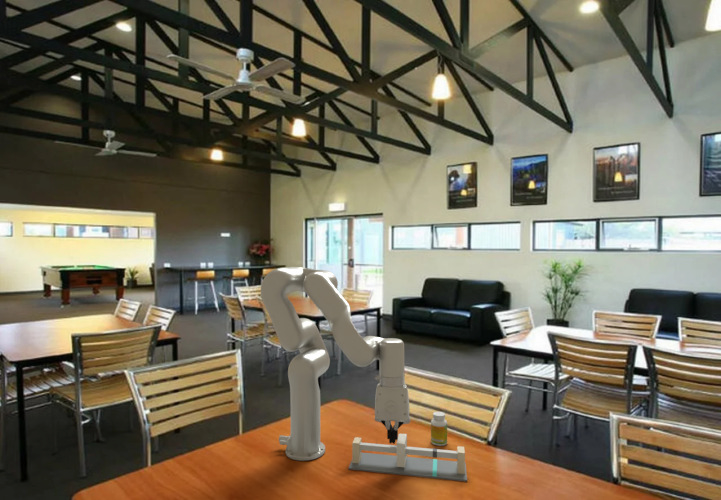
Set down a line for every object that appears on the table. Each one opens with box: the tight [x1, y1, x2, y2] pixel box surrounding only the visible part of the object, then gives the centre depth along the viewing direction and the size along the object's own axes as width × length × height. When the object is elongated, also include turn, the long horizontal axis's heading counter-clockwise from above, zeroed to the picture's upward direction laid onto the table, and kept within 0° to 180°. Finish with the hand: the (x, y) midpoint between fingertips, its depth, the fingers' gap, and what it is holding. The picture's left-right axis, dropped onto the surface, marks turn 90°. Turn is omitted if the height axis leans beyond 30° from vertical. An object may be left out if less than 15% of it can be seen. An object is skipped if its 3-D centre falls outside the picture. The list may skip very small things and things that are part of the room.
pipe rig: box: [348, 436, 468, 482], centre depth 125 cm, size 34×10×6 cm, turn 79°
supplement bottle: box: [430, 411, 448, 447], centre depth 141 cm, size 5×5×10 cm
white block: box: [396, 433, 408, 467], centre depth 126 cm, size 2×7×7 cm, turn 169°
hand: (392, 441), depth 126 cm, fingers closed
